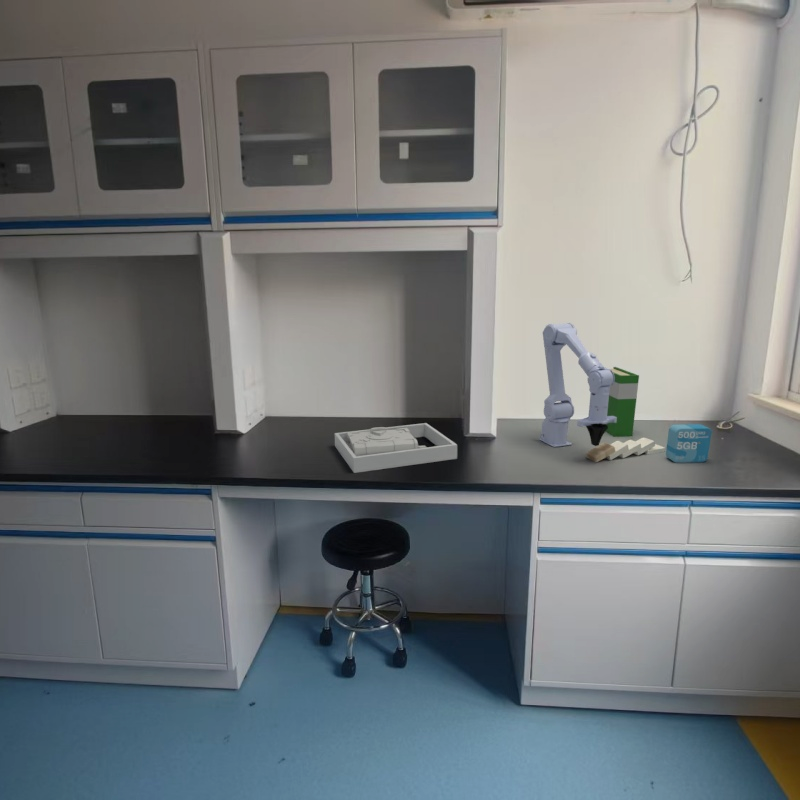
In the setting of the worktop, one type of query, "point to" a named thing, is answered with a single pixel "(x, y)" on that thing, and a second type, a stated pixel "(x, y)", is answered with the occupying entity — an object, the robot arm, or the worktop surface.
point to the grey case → (381, 441)
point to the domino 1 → (600, 452)
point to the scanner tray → (440, 452)
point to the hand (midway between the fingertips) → (594, 444)
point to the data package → (688, 443)
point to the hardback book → (622, 402)
